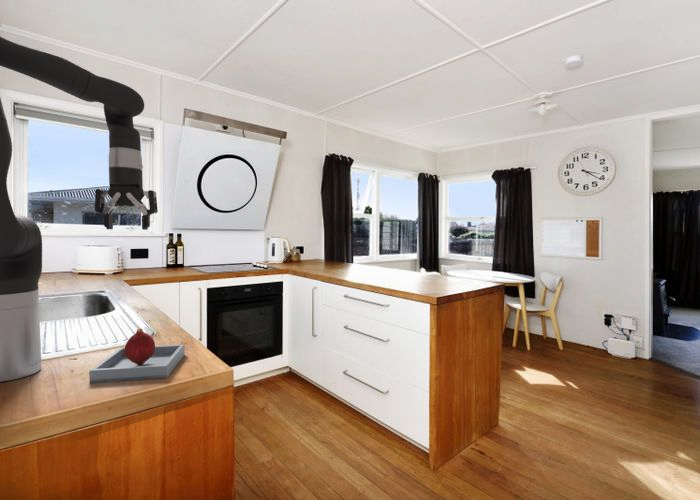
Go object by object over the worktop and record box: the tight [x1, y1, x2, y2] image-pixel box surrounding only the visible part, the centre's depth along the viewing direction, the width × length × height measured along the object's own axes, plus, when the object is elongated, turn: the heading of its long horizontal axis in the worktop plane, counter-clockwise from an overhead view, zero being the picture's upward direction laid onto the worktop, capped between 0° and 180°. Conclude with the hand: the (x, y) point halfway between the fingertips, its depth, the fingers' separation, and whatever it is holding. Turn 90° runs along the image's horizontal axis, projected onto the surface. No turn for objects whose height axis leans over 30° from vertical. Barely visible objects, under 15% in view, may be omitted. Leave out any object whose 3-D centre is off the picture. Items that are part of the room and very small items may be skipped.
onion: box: [124, 327, 156, 365], centre depth 78 cm, size 6×6×8 cm
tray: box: [88, 344, 185, 384], centre depth 79 cm, size 14×14×2 cm
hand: (127, 229), depth 96 cm, fingers open, 8 cm apart
